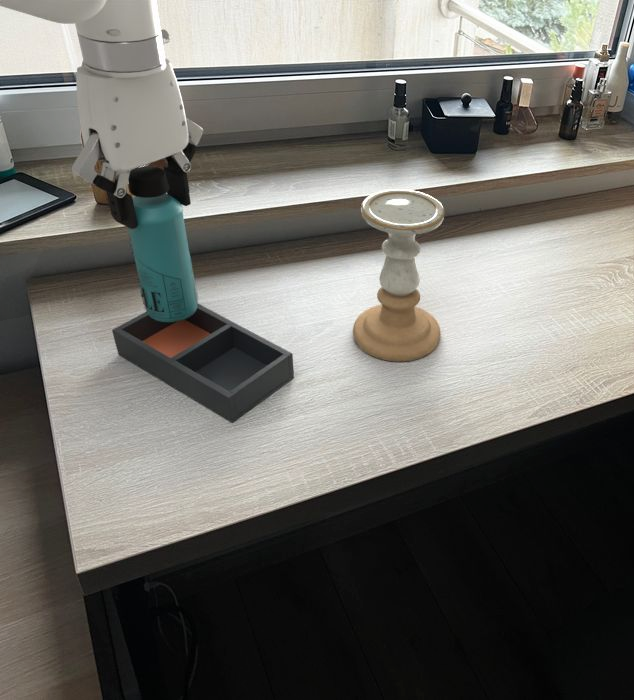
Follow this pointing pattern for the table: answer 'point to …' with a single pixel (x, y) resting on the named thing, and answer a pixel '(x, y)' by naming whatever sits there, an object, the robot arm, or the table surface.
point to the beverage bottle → (161, 248)
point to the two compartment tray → (207, 359)
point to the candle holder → (399, 278)
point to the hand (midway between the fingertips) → (153, 211)
